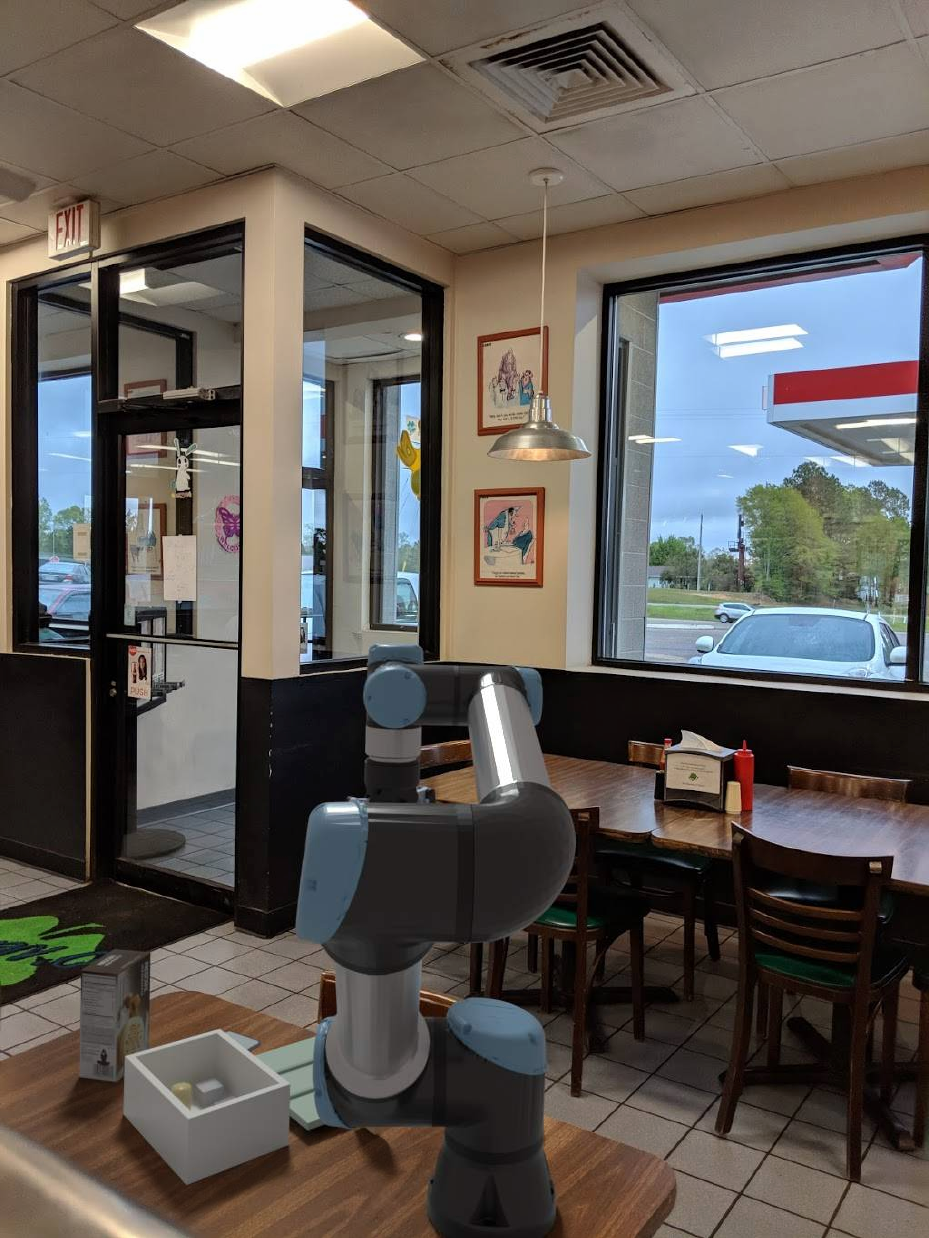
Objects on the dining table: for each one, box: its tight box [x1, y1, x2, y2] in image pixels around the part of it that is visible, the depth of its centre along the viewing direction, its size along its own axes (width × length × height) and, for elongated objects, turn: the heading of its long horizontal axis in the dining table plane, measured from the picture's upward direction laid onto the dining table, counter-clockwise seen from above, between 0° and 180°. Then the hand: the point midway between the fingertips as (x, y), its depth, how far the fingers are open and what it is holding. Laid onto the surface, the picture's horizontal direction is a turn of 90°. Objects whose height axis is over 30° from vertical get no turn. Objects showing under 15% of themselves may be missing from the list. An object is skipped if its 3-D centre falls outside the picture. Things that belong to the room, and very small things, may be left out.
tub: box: [123, 1028, 290, 1186], centre depth 127 cm, size 20×14×8 cm
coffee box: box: [78, 948, 152, 1083], centre depth 143 cm, size 9×6×16 cm
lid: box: [254, 1035, 388, 1135], centre depth 136 cm, size 27×15×10 cm, turn 40°
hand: (388, 912), depth 130 cm, fingers open, 13 cm apart
